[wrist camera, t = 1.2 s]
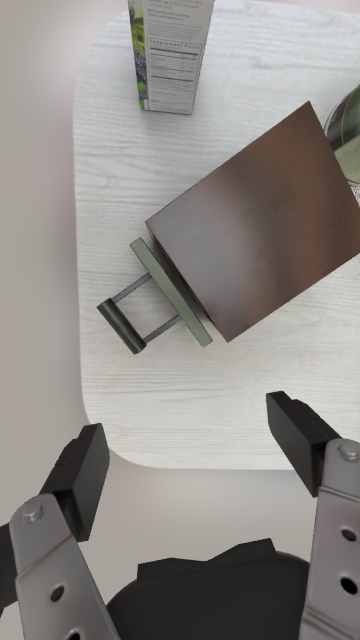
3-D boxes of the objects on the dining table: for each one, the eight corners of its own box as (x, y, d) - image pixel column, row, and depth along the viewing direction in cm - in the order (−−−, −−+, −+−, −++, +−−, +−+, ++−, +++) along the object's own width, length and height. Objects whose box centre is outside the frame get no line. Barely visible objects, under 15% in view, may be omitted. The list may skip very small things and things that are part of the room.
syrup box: (141, 48, 26) (116, -217, 12) (197, 55, 26) (237, -191, 12) (140, 110, 27) (114, -61, 13) (193, 116, 28) (226, -43, 13)
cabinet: (208, 320, 32) (227, 342, 23) (150, 236, 30) (144, 221, 20) (311, 249, 31) (376, 241, 22) (260, 155, 29) (309, 100, 19)
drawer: (149, 358, 32) (145, 387, 24) (91, 284, 30) (66, 290, 22) (290, 261, 31) (333, 259, 23) (241, 175, 28) (271, 140, 20)
